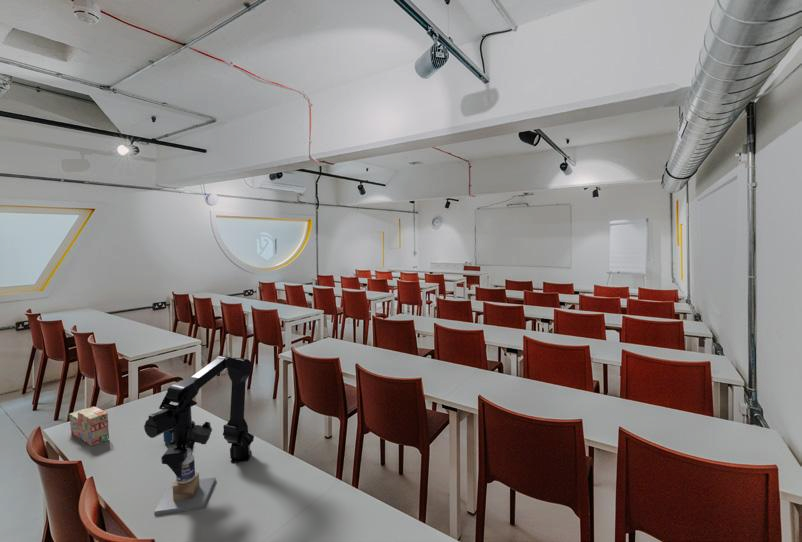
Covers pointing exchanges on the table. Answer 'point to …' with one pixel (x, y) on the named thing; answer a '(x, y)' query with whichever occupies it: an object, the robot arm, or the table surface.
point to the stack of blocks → (90, 425)
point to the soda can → (167, 437)
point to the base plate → (186, 504)
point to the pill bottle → (187, 469)
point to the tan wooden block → (186, 489)
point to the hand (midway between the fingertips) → (184, 467)
